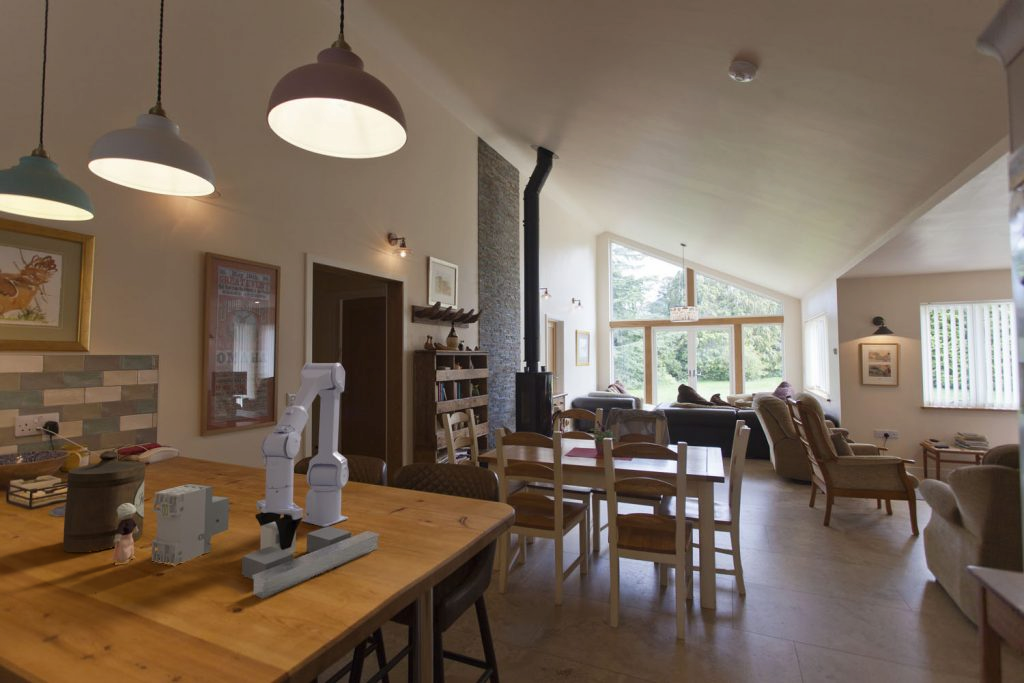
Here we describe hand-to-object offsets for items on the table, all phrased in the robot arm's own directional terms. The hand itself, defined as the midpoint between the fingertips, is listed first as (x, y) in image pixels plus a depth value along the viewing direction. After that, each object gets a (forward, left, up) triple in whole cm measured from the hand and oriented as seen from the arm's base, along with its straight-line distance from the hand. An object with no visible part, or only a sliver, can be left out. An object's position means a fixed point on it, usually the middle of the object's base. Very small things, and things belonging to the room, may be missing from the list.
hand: (278, 545), depth 108 cm
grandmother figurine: (-25, -20, -2) cm, 32 cm away
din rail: (+16, 0, -2) cm, 16 cm away
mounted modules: (+8, 0, -2) cm, 8 cm away
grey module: (0, 0, -2) cm, 2 cm away
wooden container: (-44, -17, -2) cm, 47 cm away
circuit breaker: (-18, -9, -2) cm, 20 cm away
